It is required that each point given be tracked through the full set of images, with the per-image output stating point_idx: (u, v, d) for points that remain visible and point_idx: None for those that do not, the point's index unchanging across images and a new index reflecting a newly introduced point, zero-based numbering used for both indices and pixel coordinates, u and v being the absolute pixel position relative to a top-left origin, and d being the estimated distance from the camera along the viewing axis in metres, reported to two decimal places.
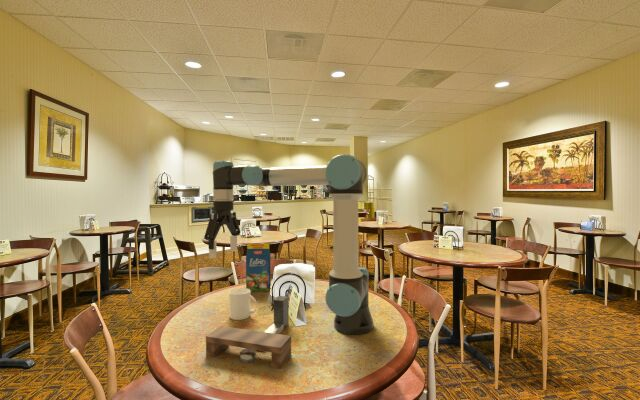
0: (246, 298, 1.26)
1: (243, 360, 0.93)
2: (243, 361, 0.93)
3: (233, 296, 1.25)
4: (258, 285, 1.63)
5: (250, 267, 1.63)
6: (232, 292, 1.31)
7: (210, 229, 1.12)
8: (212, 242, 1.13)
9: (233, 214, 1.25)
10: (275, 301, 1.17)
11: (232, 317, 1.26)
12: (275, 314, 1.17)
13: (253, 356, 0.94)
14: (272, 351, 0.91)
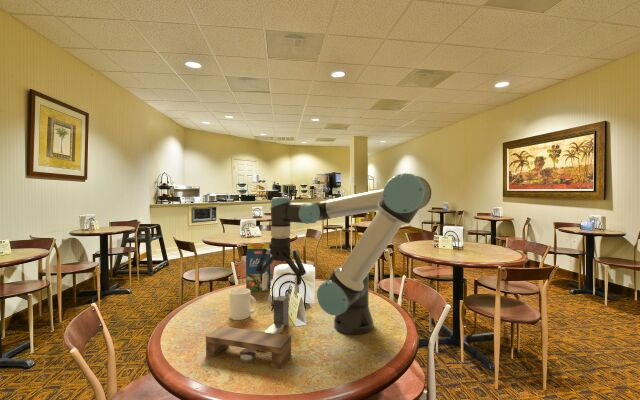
0: (246, 298, 1.26)
1: (243, 360, 0.93)
2: (243, 361, 0.93)
3: (233, 296, 1.25)
4: (258, 285, 1.63)
5: (250, 267, 1.63)
6: (232, 292, 1.31)
7: None
8: (261, 274, 1.21)
9: (293, 253, 1.17)
10: (275, 301, 1.17)
11: (232, 317, 1.26)
12: (275, 314, 1.17)
13: (253, 356, 0.94)
14: (272, 351, 0.91)
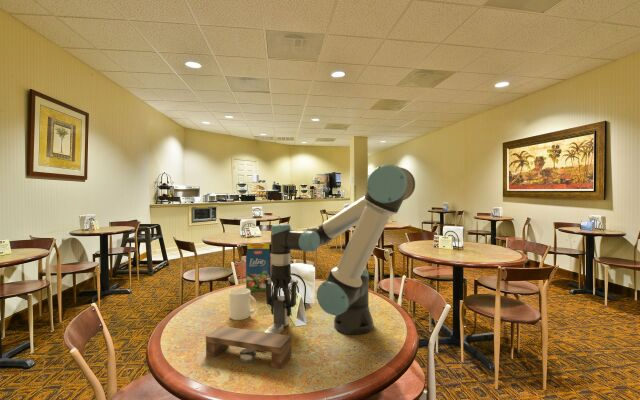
0: (246, 298, 1.26)
1: (243, 360, 0.93)
2: (243, 361, 0.93)
3: (233, 296, 1.25)
4: (258, 285, 1.63)
5: (250, 267, 1.63)
6: (232, 292, 1.31)
7: None
8: (272, 308, 1.20)
9: (292, 283, 1.17)
10: (275, 301, 1.17)
11: (232, 317, 1.26)
12: (275, 314, 1.17)
13: (253, 356, 0.94)
14: (272, 351, 0.91)
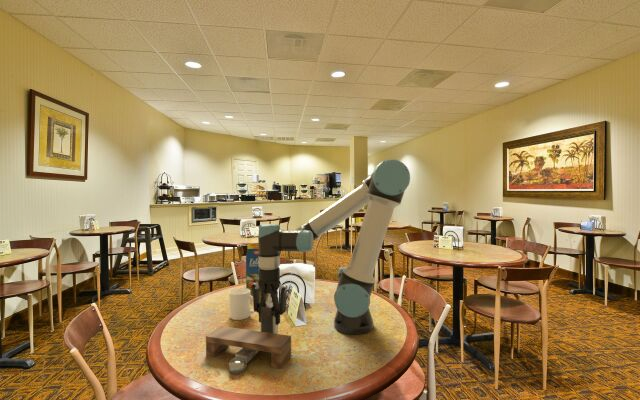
0: (246, 298, 1.26)
1: (232, 370, 0.88)
2: (232, 371, 0.88)
3: (233, 296, 1.25)
4: None
5: (250, 267, 1.63)
6: (232, 292, 1.31)
7: None
8: (260, 315, 1.10)
9: (281, 288, 1.07)
10: (263, 308, 1.08)
11: (232, 317, 1.26)
12: (262, 322, 1.08)
13: (243, 366, 0.88)
14: (272, 351, 0.91)
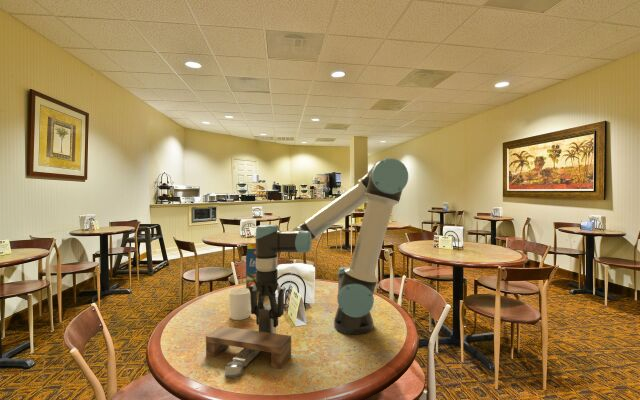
0: (246, 298, 1.26)
1: (228, 374, 0.86)
2: (228, 376, 0.86)
3: (233, 296, 1.25)
4: None
5: (250, 267, 1.63)
6: (232, 292, 1.31)
7: None
8: (257, 317, 1.08)
9: (279, 290, 1.05)
10: (260, 310, 1.06)
11: (232, 317, 1.26)
12: (260, 325, 1.06)
13: (239, 370, 0.86)
14: (272, 351, 0.91)
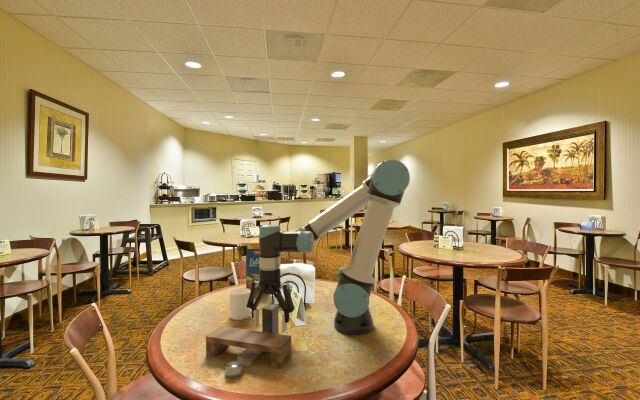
0: (246, 298, 1.26)
1: (228, 375, 0.86)
2: (228, 376, 0.86)
3: (233, 296, 1.25)
4: None
5: (250, 267, 1.63)
6: (232, 292, 1.31)
7: None
8: (252, 311, 1.11)
9: (283, 287, 1.08)
10: (264, 310, 1.08)
11: (232, 317, 1.26)
12: (264, 324, 1.08)
13: (239, 370, 0.86)
14: (272, 351, 0.91)
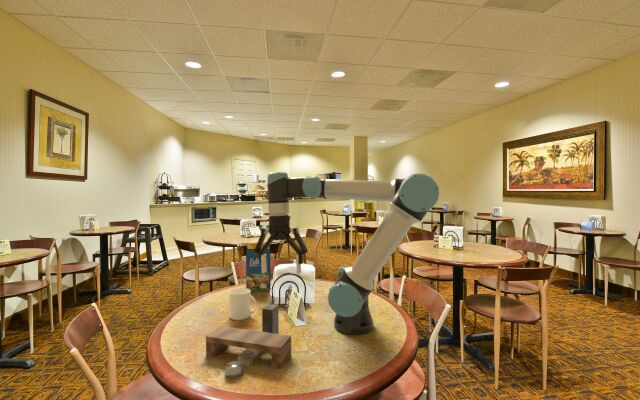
0: (246, 298, 1.26)
1: (228, 375, 0.86)
2: (228, 376, 0.86)
3: (233, 296, 1.25)
4: (258, 285, 1.63)
5: (250, 267, 1.63)
6: (232, 292, 1.31)
7: None
8: (260, 256, 1.14)
9: (293, 230, 1.10)
10: (264, 310, 1.08)
11: (232, 317, 1.26)
12: (264, 324, 1.08)
13: (239, 370, 0.86)
14: (272, 351, 0.91)
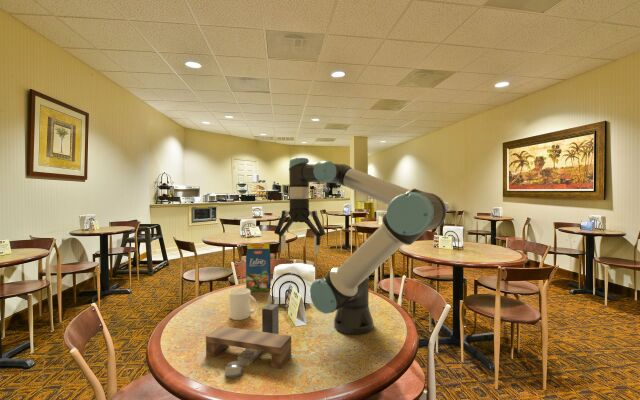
0: (246, 298, 1.26)
1: (228, 375, 0.86)
2: (228, 376, 0.86)
3: (233, 296, 1.25)
4: (258, 285, 1.63)
5: (250, 267, 1.63)
6: (232, 292, 1.31)
7: None
8: (280, 237, 1.20)
9: (312, 213, 1.16)
10: (264, 310, 1.08)
11: (232, 317, 1.26)
12: (264, 324, 1.08)
13: (239, 370, 0.86)
14: (272, 351, 0.91)
